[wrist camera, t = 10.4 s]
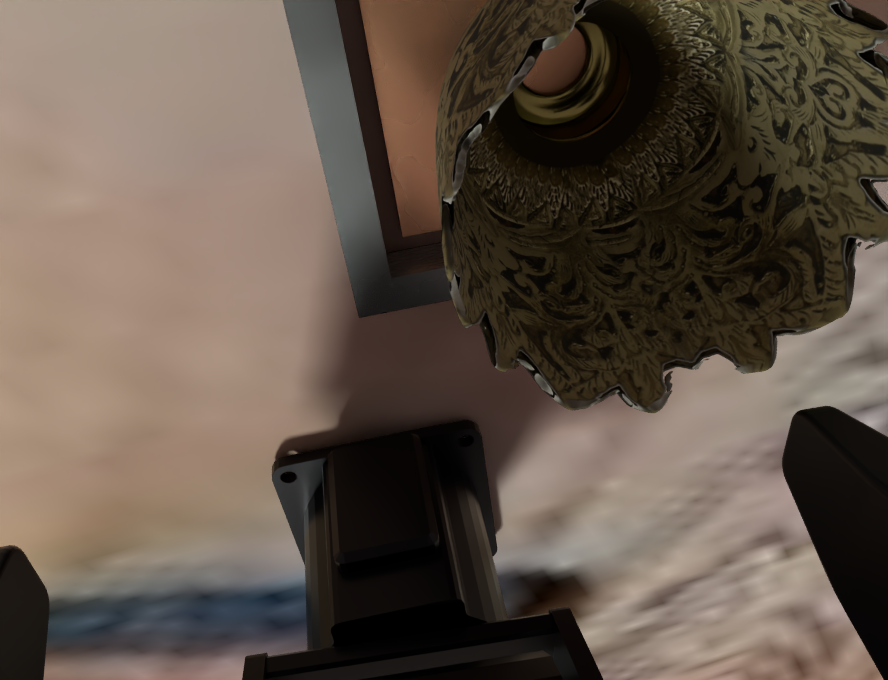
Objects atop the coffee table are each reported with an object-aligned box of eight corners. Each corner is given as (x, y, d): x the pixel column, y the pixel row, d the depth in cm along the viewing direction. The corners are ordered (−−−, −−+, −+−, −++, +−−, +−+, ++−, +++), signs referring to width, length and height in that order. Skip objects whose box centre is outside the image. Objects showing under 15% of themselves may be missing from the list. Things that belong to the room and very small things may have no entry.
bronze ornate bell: (694, -184, 16) (958, -121, 10) (721, 145, 21) (914, 333, 14) (339, -53, 17) (374, 88, 10) (443, 241, 21) (511, 464, 15)
